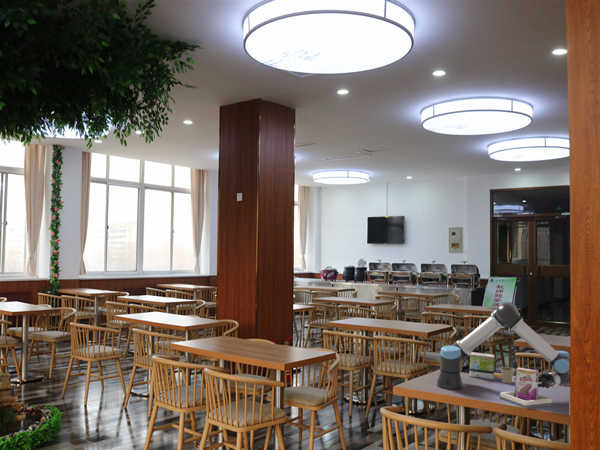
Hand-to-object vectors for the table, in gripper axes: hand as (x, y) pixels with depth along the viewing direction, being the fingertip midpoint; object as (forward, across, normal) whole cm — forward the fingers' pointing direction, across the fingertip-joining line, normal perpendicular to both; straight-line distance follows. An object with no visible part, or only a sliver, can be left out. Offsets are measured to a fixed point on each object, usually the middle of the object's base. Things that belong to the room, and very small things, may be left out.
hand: (522, 382), depth 295 cm
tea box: (-23, +54, -11) cm, 60 cm away
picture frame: (-3, 0, -11) cm, 11 cm away
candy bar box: (-3, 0, -10) cm, 10 cm away
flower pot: (-28, +37, -11) cm, 48 cm away
